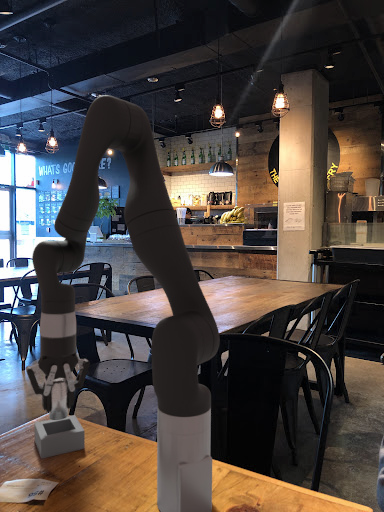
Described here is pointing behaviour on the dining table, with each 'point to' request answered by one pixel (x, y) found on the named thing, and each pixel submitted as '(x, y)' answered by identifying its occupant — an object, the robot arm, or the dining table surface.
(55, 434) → the box
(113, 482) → the dining table surface
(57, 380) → the peg
